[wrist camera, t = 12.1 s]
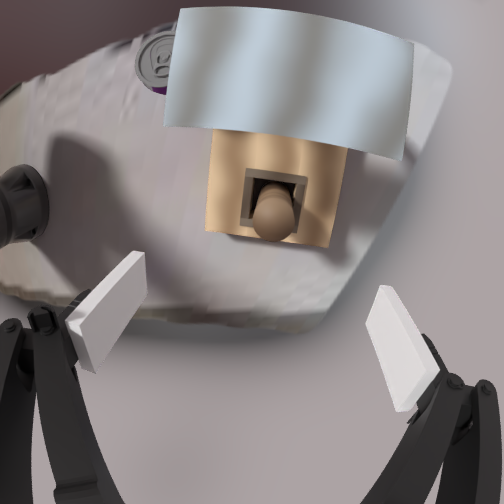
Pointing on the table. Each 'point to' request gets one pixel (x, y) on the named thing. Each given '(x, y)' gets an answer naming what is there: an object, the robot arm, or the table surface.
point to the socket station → (286, 106)
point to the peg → (274, 212)
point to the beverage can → (155, 61)
